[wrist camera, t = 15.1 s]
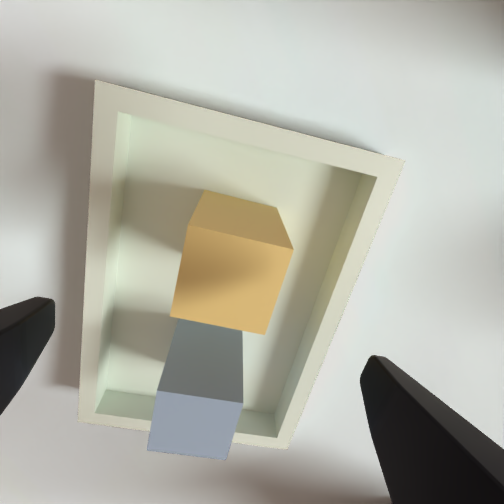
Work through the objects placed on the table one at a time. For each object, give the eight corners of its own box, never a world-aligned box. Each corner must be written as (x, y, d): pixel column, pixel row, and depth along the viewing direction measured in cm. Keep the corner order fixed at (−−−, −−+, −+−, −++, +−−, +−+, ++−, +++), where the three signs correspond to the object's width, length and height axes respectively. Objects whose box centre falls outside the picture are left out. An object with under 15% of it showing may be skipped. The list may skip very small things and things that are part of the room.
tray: (282, 418, 25) (287, 449, 22) (93, 391, 23) (77, 422, 21) (383, 154, 17) (405, 160, 15) (116, 84, 16) (94, 79, 13)
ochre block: (257, 271, 19) (264, 335, 14) (190, 256, 19) (169, 316, 13) (276, 207, 18) (293, 249, 12) (204, 189, 17) (187, 224, 12)
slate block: (229, 373, 22) (225, 460, 16) (170, 364, 22) (146, 450, 16) (242, 326, 21) (243, 403, 15) (179, 314, 20) (156, 390, 14)
